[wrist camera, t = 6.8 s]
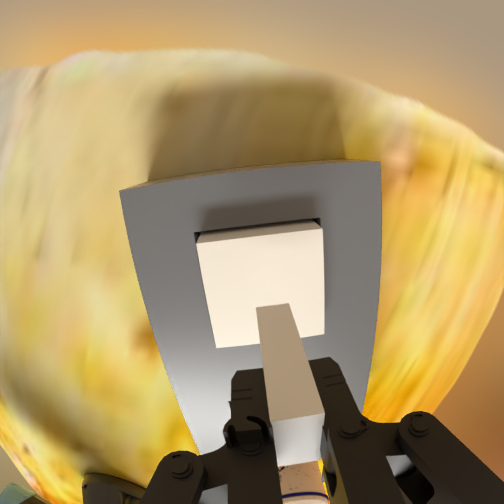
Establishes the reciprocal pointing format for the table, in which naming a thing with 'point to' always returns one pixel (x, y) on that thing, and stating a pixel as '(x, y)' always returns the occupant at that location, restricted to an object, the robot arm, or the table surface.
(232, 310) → the ivory key
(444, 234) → the table surface
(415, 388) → the table surface
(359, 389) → the key box
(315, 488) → the teacup with lid
